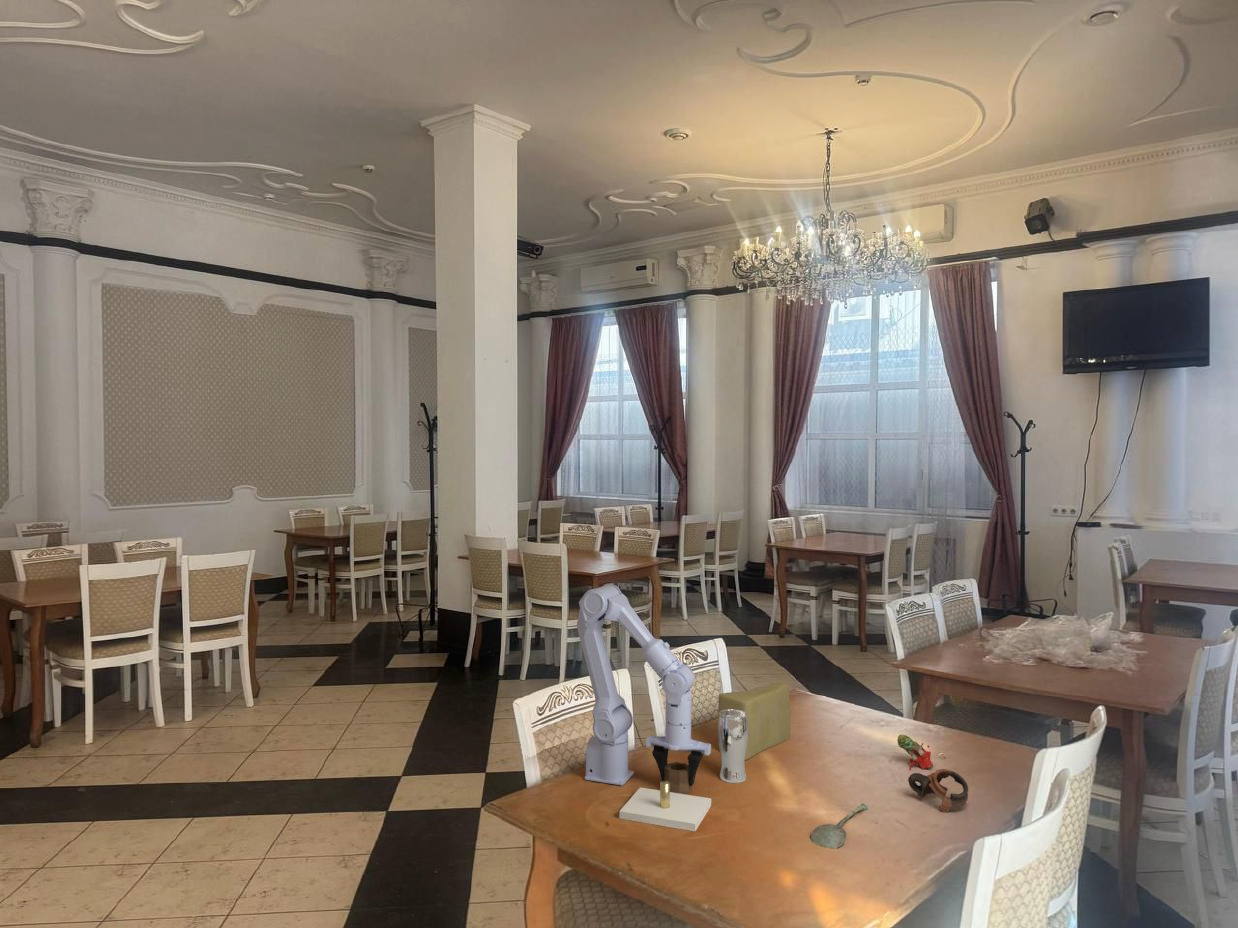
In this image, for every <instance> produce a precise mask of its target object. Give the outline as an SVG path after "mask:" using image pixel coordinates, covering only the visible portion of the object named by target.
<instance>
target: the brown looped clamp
mask: <svg viewBox="0 0 1238 928" xmlns="http://www.w3.org/2000/svg"><path fill="white" fill-rule="evenodd" d="M949 776H950V777H951V778H953V780H954V782H955V783H957V784H960V785H961V786H962V789H963V791H962V792H961V793H950V797H949V796H947V795H946V794H947V792H948V787H946V786H944V785H942V784H940V783H941V781H942V780H943V779H947V778H948V777H949ZM907 781H908V785H909V787H910V788H911V790H912V791H913V792H915V793H916V794H917V795H918V797H919V798H920V799H921V800H922V799H924V797H926V795H929V794H936V796H937V797H938V798H939V799H940V800H941V804H940V805H939V810H940V811H941V812H944V813H945V814H947V813H948V812H950V810H954V809H957V808H961V807H962V806H964V805H965V804H966V803H967V801H968V799H969V793H968V792H969V786H968V783H967V781H966V780H965V778H964V777H963V776H961V774H959V773H957V772H955V771H953V770H950V769H946V768H940V769H936V771H934V772H931V773H929V774H927V775H924V774H922V773H919V772H914V773H911V774H910V775H909V776H908V778H907ZM916 782H917V783H916ZM918 784H919V785H918Z"/></svg>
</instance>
